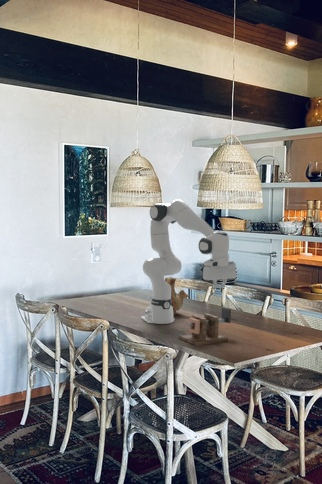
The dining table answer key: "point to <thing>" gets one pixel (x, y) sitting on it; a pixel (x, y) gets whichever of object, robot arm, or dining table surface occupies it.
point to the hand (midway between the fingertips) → (219, 287)
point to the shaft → (225, 319)
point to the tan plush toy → (176, 295)
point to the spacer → (197, 326)
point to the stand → (205, 332)
